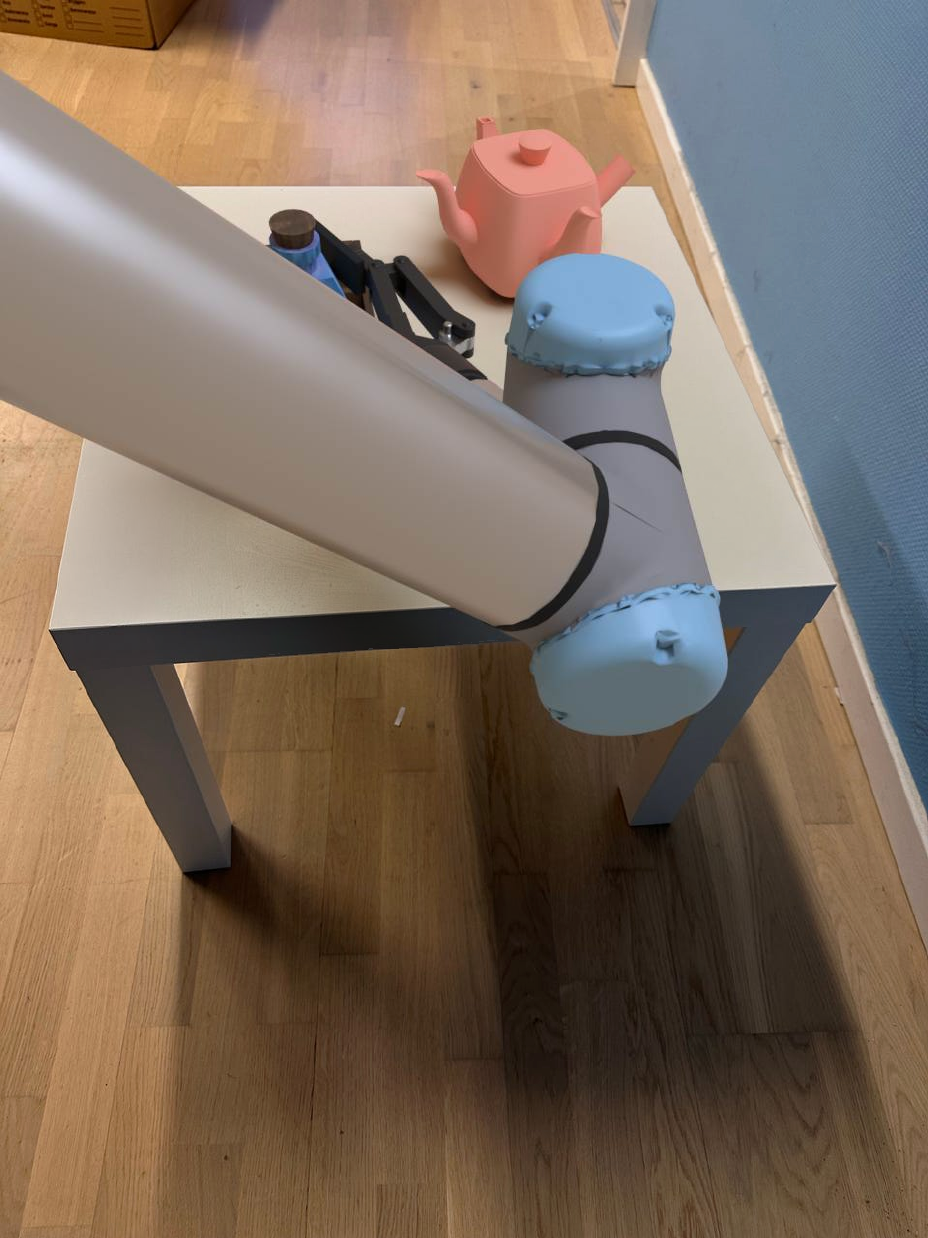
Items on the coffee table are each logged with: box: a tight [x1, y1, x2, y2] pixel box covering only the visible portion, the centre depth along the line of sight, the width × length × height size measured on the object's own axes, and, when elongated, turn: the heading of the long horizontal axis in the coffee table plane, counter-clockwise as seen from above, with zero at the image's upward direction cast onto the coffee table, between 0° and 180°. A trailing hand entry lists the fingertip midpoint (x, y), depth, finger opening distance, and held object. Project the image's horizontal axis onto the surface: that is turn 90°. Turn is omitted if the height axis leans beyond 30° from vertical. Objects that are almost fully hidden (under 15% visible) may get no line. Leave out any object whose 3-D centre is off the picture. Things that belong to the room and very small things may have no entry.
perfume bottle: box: [268, 208, 347, 299], centre depth 65 cm, size 6×6×12 cm
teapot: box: [414, 115, 637, 299], centre depth 93 cm, size 18×18×14 cm
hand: (264, 254), depth 67 cm, fingers closed on perfume bottle, 8 cm apart
